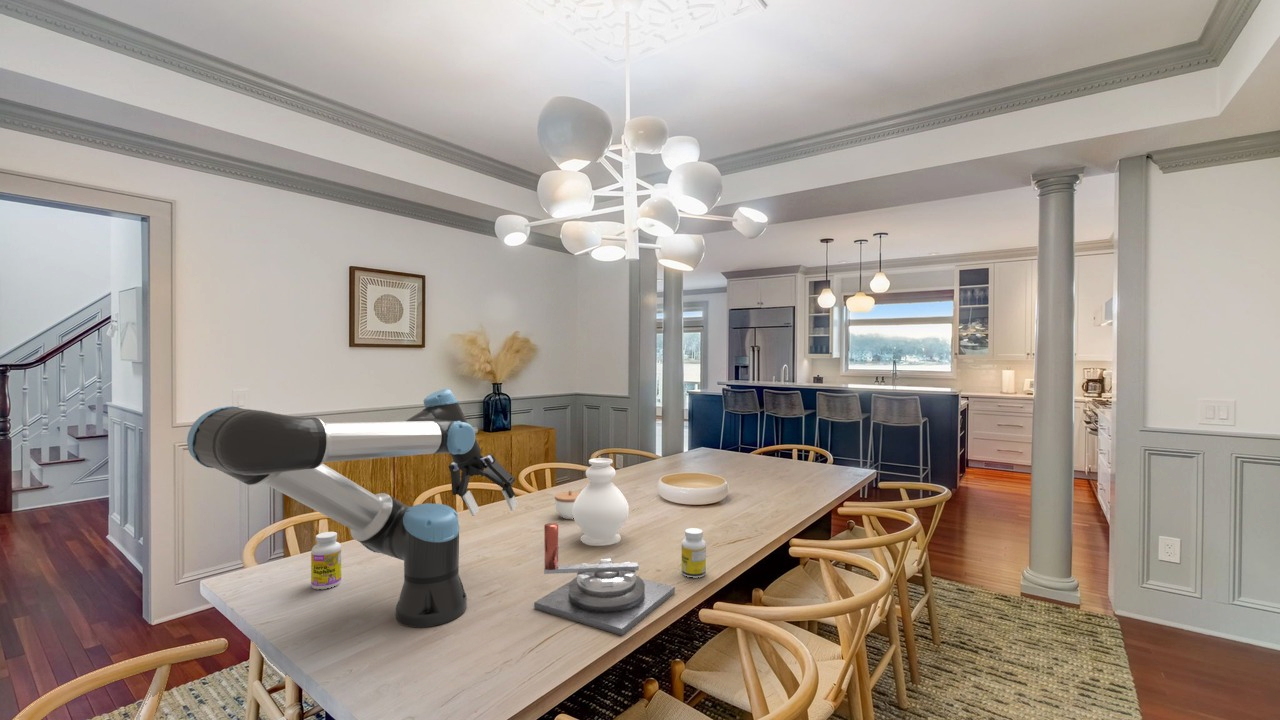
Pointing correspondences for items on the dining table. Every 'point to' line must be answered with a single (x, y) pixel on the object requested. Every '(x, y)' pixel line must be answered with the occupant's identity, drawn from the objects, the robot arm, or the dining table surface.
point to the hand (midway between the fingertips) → (495, 510)
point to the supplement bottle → (326, 561)
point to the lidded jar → (565, 503)
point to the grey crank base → (606, 605)
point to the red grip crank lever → (590, 570)
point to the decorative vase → (600, 505)
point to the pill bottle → (693, 553)
